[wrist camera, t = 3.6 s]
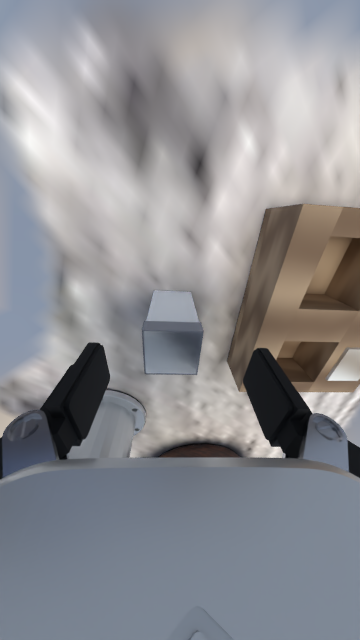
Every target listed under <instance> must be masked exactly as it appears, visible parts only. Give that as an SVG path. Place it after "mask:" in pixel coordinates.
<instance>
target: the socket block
mask: <svg viewBox="0 0 360 640" xmlns="http://www.w3.org/2000/svg"><path fill="white" fill-rule="evenodd" d="M257 348H267V349H269V351H270V352H271V354H272V355H273V357H274V358H275V360H276V361H277V362H278V364H279V365H280V367H281V368H282V370H283V371H284V373H285V374H286V376H287V377H288V378H289V380H290V381H291V383H292V384H293V386H294V387H295V389H296V390H297V391H298V392H353V391H354V390H355V389H356V388H357V387H358V385H359V384H360V208H351V207H337V206H324V205H311V204H299V205H292V206H285V207H277V208H270V209H266V211H265V215H264V219H263V223H262V227H261V231H260V235H259V239H258V243H257V247H256V250H255V254H254V258H253V262H252V266H251V270H250V274H249V278H248V282H247V286H246V290H245V293H244V297H243V301H242V305H241V309H240V313H239V317H238V321H237V325H236V329H235V332H234V336H233V340H232V344H231V348H230V352H229V356H228V360H227V362H228V365H229V367H230V370H231V372H232V375H233V377H234V380H235V382H236V385H237V388H238V390H239V392H247V391H246V389H245V386H244V384H243V378H244V375H245V372H246V370H247V367H248V364H249V361H250V359H251V356H252V353H253V351H254V350H256V349H257Z"/></svg>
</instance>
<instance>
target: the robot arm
mask: <svg viewBox="0 0 360 640" xmlns="http://www.w3.org/2000/svg"><path fill="white" fill-rule="evenodd" d="M109 380H110V374H109V369H108V365H107V360H106V356H105V351H104V347H103V346H102V345H100V343H88V344H87V346H86V347H85V349H84V350H83V352H82V353H81V355H80V356H79V358H78V359H77V361H76V362H75V363H74V364H73V365H71V366H70V367H69V369H68V370H67V371H66V373H65V374H64V376H63V377H62V379H61V380H60V382H59V383H58V384H57V386H56V387H55V389H54V390H53V392H52V393H51V395H50V396H49V397H48V399H47V400H46V402H45V403H44V405H43V406H42V407H41V409H40V410H32V411H28V412H26V413H23V414H22V415H20V416H18V417H17V418H16V419H14V420H13V421H12V422H11V423H10V424H9V425H8V426H7V427H6V429H5V431H4V433H3V436H2V437H1V438H0V640H360V448H359V447H358V446H356V445H355V444H353V443H351V442H350V441H348V440H347V436H346V434H345V432H344V430H343V429H342V428H341V427H340V425H339V424H337V423H336V422H335V421H334V420H332V419H331V418H329V417H328V416H325V415H323V414H319V413H314V414H312V412H311V411H310V409H309V407H308V406H307V405H306V403H305V402H304V400H303V399H302V397H301V396H300V394H299V393H298V391H297V390H296V389H295V387H294V386H293V384H292V383H291V381H290V380H289V378H288V377H287V376H286V374H285V373H284V371H283V370H282V368H281V367H280V365H279V364H278V362H277V361H276V360H275V358H274V357H273V355H272V354H271V352H270V351H269V349H267V348H257V349H256V350H254V351H253V353H252V356H251V359H250V361H249V364H248V367H247V370H246V372H245V375H244V378H243V384H244V386H245V389H246V391H247V394H248V396H249V399H250V401H251V404H252V406H253V409H254V411H255V414H256V416H257V419H258V421H259V424H260V426H261V429H262V431H263V434H264V436H265V438H266V439H267V440H269V442H270V445H271V447H281V449H282V451H283V456H282V458H217V457H215V458H129V457H130V451H131V446H132V440H133V436H134V435H136V434H137V433H138V432H140V431H141V430H142V429H143V427H144V425H145V420H146V412H145V410H144V408H143V406H142V405H141V404H140V403H139V402H138V401H137V400H135V399H134V398H132V397H131V396H128V395H126V394H124V393H120V392H117V391H111V390H106V388H107V386H108V383H109Z"/></svg>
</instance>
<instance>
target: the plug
mask: <svg viewBox="0 0 360 640" xmlns="http://www.w3.org/2000/svg"><path fill="white" fill-rule="evenodd" d="M203 332H204V331H203V328H202V324H201V322H199V320H198V316H197V312H196V309H195V305H194V301H193V298H192V294H191V292H184V291H159V290H154V293H153V296H152V300H151V304H150V308H149V312H148V316H147V320H146V321H144V324H143V328H142V339H143V355H144V371H145V374H177V375H197V372H198V365H199V359H200V352H201V345H202V338H203Z"/></svg>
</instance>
